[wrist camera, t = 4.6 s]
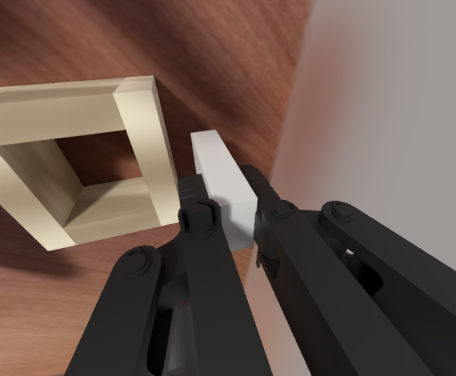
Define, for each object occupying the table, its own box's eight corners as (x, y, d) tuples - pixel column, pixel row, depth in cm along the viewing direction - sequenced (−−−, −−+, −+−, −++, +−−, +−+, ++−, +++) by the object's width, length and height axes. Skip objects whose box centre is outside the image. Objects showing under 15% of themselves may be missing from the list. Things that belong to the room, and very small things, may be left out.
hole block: (179, 186, 16) (184, 220, 13) (71, 206, 15) (48, 250, 11) (153, 75, 11) (151, 89, 8) (-15, 88, 10) (-97, 111, 7)
